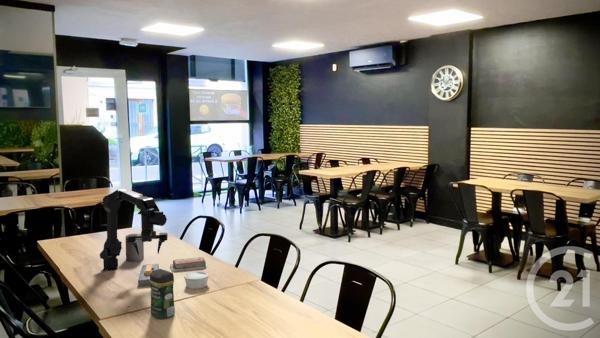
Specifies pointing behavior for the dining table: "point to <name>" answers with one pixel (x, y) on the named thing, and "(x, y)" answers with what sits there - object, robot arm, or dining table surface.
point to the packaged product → (188, 264)
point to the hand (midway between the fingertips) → (148, 254)
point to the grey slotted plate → (145, 279)
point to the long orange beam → (148, 269)
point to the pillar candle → (134, 251)
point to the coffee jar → (162, 294)
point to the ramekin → (196, 280)
